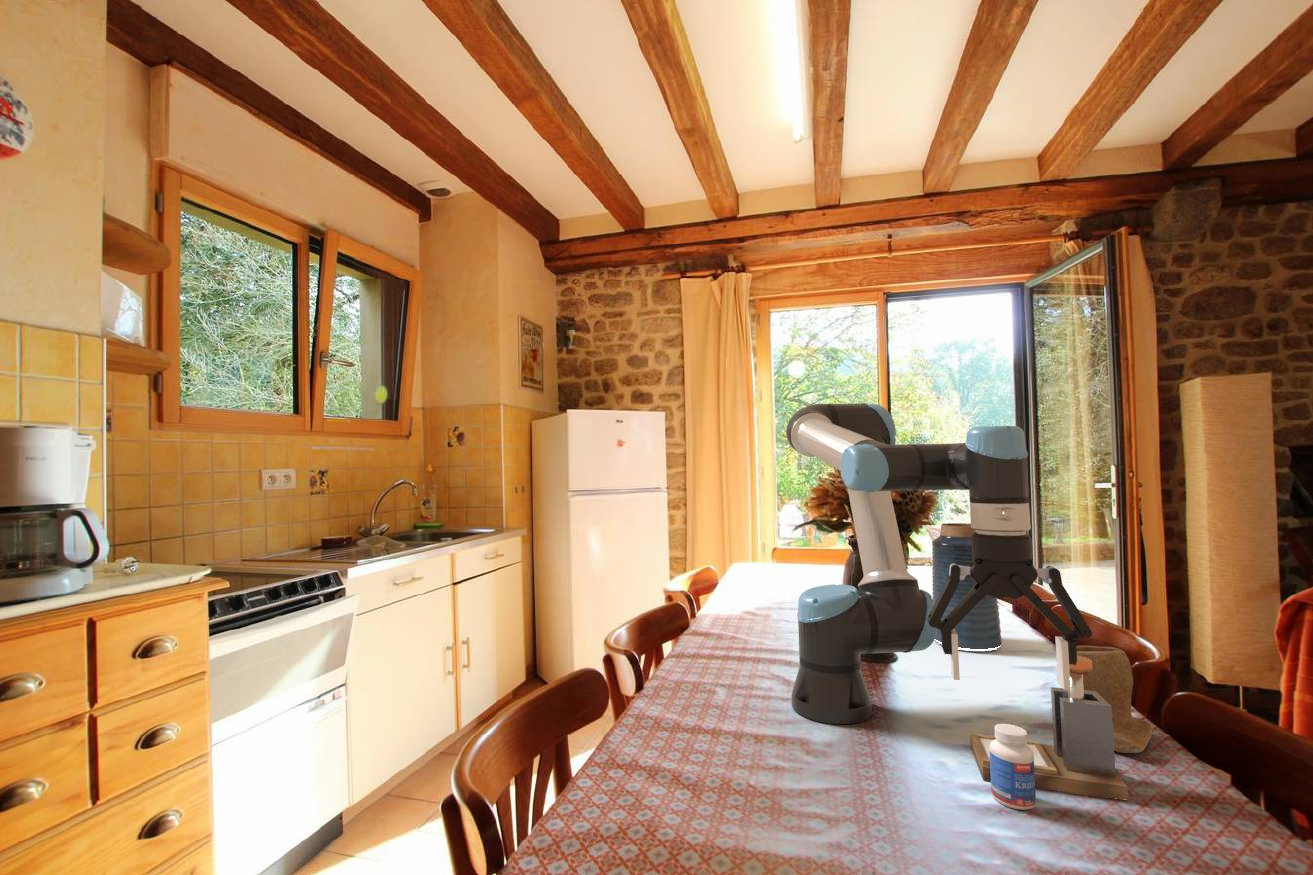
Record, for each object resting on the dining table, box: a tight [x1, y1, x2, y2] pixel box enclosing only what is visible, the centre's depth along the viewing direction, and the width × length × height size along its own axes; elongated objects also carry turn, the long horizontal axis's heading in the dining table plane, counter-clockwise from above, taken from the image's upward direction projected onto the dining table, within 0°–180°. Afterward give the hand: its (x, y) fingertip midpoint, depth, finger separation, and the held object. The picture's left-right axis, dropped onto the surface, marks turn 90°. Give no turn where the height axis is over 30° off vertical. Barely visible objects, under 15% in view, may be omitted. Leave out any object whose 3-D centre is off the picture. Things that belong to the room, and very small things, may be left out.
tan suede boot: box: [1076, 645, 1154, 754], centre depth 101 cm, size 15×12×15 cm
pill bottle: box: [990, 723, 1037, 811], centre depth 82 cm, size 6×5×10 cm
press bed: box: [969, 732, 1129, 801], centre depth 89 cm, size 18×11×3 cm, turn 70°
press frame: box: [1050, 686, 1117, 777], centre depth 88 cm, size 6×6×10 cm
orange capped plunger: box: [1068, 655, 1092, 700], centre depth 88 cm, size 4×4×12 cm
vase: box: [931, 522, 1003, 649], centre depth 155 cm, size 16×16×32 cm
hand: (1008, 681), depth 83 cm, fingers open, 13 cm apart
